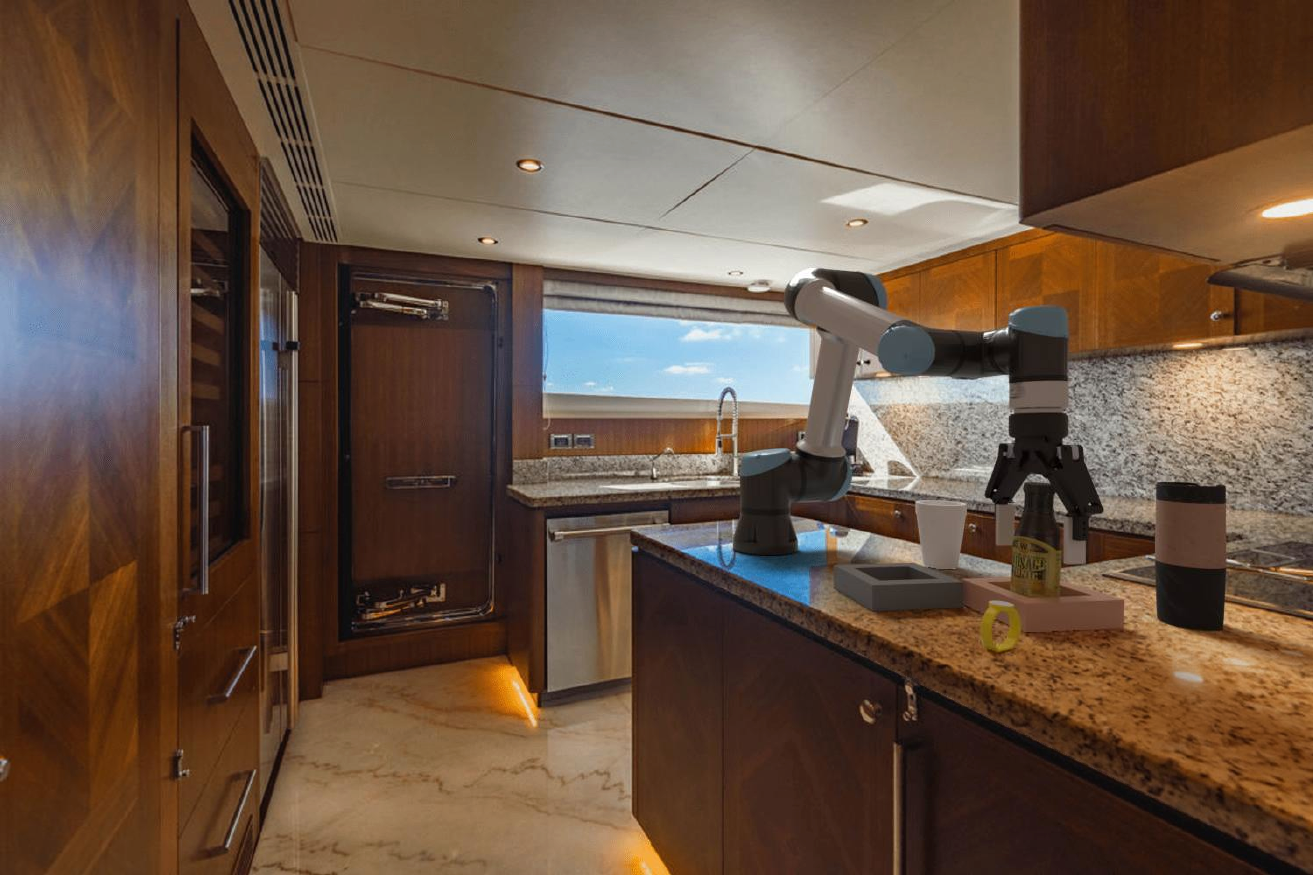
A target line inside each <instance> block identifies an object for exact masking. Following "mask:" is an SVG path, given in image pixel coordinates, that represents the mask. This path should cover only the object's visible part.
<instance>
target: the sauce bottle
mask: <svg viewBox="0 0 1313 875" xmlns="http://www.w3.org/2000/svg"><path fill="white" fill-rule="evenodd" d="M1022 490H1023V493H1024V500H1023V501H1024V503H1023V510H1022V514H1021V516H1020V519H1019V520H1018V521H1019V522H1018V525H1017V526H1016V528H1015V534H1014V536H1013V545H1012V549H1011V550H1012V551H1011V572H1010V575H1011V576H1010V577H1011V589H1010V591H1011V592H1014V593H1017V594H1019V595H1022V596H1025V597H1027V598H1044V597H1060V580H1061V576H1062V574H1061V573H1062V555H1063V554H1062V550H1063V549H1062V537H1063V534H1062V528H1061V526H1060V525H1059V523H1058V522H1057V521H1056V518H1055V515H1054V513H1055V509H1054V504H1055V503H1054V500H1055V495H1056V492H1055V490H1054V489H1053V487H1052V485H1051V484H1050V482H1040V481H1038V482H1037V481H1026V482H1025V481H1024V483H1023V488H1022Z"/></svg>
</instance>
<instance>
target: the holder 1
mask: <svg viewBox="0 0 1313 875" xmlns="http://www.w3.org/2000/svg"><path fill="white" fill-rule="evenodd" d="M833 588H834V589H836V591H838V592H840V593H842V594H843V595H845V596H846V597H849V598H850V599H851V600H853V601H855V602H856V603H858V604H860V605H861V606H863V607H865V608H867V609H868V610H869V611H871V612H887V611H890V612H891V611H892V612H893V611H909V610H912V611H913V610H916V611H917V610H934V609H935V610H937V609H939V610H940V609H959V608H960V609H961V608H964V605H963V582H962V581H961V580H959V579H956V578H954V577H951V576H949V575H946V574H943V573H942V572H938V571H936V570H935V569H932V568H928V567H925V566H924V565H922V564H918V563H916V562H893V563H892V562H891V563H889V562H887V563H859V564H857V563H856V564H852V563H851V564H833Z"/></svg>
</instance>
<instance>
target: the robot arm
mask: <svg viewBox="0 0 1313 875" xmlns="http://www.w3.org/2000/svg"><path fill="white" fill-rule="evenodd" d="M783 293H784V294H783V304H784V307H785V310H786V312H787V314H788V315H789V316H790V317H791V318H792V319H794V320H796V321H797V322H799V323H801V324H803V325H805V326H808V327H816V330H815V331H816V332H817V333H818V335H819V337H820V338H821V339H820V346H819V351H818V356H817V357H818V358H817V364H816V369H815V373H814V378H813V386H812V391H811V397H810V401H809V407H808V413H807V419H806V420H807V421H806V424H805V431H804V436H803V438H802V439H800V440H799V441H798V442H796V445H795V449H794V451H795V452H794V453H792V452H791V449H789V448H783V447H782V448H771V449H770V448H769V449H768V448H767V449H760V450H754V451H750V452H747V453H745V454H743V455H742V456H741V459H740V466H739V473H738V474H739V492H740V493H739V506H740V507H739V519H738V522H737V525H736V528H735V530H734V534H733V537H732V549H733V550H735V551H737V552H739V553H743V554H750V555H760V556H761V555H762V556H778V555H779V556H780V555H791V554H793V553H794V554H795V553H796V552H798V551H799V540H798V537H797V533H796V530H795V527H794V523H793V520H792V517H791V504H796V503H797V504H798V503H801V504H802V503H827V502H832V501H837V500H839V499H840V498H843V497H844V496H845V495H846V494H847V493H848V491H849V489H850V486H851V484H852V482H853V470H852V469H851V468H852V463H851V461H850V460H849V458H848V457H847V451H846V449H845V448H844V447H843V445H842V440H843V436H844V430H845V425H846V420H847V414H848V409H849V405H850V400H851V399H850V398H851V395H852V394H851V393H852V390H853V384H854V378H855V374H856V370H857V364H858V359H859V353H860V350H861V349H862V350H863V351H866V352H867V353H869V354H871V355H873V356H876V357H877V360H878V363H880V364H881V367H882V369H883V370H884V371H885V372H887V373H890V374H893V375H900V376H904V377H917V376H919V377H947V378H951V379H953V380H962V381H963V380H970V381H973V380H978V379H984V378H991V377H999V376H1008V384H1009V386H1008V389H1009V391H1008V393H1009V395H1008V408H1009V410H1011V411H1013V413H1010V414H1009V415H1008V436H1009V437H1010V438H1013V439H1014V442H1008V443H1007V442H1005V443H1004V442H1000V443H999V444H998V449H997V456H996V457H997V458H996V461H995V463H994V466H993V468H992V469H993V470H992V471H991V474H990V478H989V480H988V483H987V485H986V487H985V491H984V497H985V498H986V499H989V500H991V502H992V503H993V504H994V523H995V545H996V546H1013V536H1014V534H1015V531H1016V528H1015V526H1016V525H1015V524H1016V523H1015V522H1016V520H1015V517H1016V516H1015V514H1016V513H1015V510H1016V509H1015V508H1016V506H1015V504H1014V503H1015V502H1014V500H1013V498H1014V497H1015V496H1016V495H1017V493H1018V491H1019V490H1020V488H1021V487H1022V485H1024V483H1025V481H1026V480H1027V478H1028V477H1029V476H1030V475H1032V474H1034V475H1042V477H1043V478H1044V479H1047V480H1048V483H1050V484H1051V485H1052V487H1053V489H1054V490H1055V492H1056V493H1055V495H1057V497H1058V498H1059V500H1060V501H1061V503H1062V505H1063V506H1064V508H1065V510H1066V514H1065V515H1064V516H1063V564H1065V565H1086V564H1087V563H1086V559H1087V558H1086V557H1087V556H1086V555H1087V554H1086V553H1087V548H1086V546H1087V545H1086V544H1087V543H1086V542H1088V541H1089V538H1090V534H1089V533H1090V531H1089V530H1090V518H1091V516H1094V515H1102V514H1103V513H1104V509H1105V508H1104V506H1103V503H1102V501H1101V499H1100V496H1099V494H1098V491H1097V489H1096V486H1095V484H1094V481H1093V479H1092V476H1091V474H1090V472H1089V468H1088V467H1087V464H1086V462H1085V454H1084V446H1083V445H1081V444H1064V443H1063V439H1065V438H1067V437H1068V436H1069V414H1067V413H1066V412H1064V410H1067V409H1068V408H1069V407H1070V406H1069V404H1070V402H1069V400H1070V399H1069V397H1070V396H1069V392H1070V391H1069V389H1070V388H1069V375H1068V370H1069V369H1068V366H1069V350H1070V349H1069V348H1070V338H1071V335H1070V331H1069V316H1068V315H1069V314H1068V312H1067V310H1066V309H1065V308H1064V307H1062V306H1059V305H1049V304H1048V305H1035V306H1028V307H1027V306H1026V307H1022V308H1017V309H1016V310H1013V311H1012V312H1011V313H1010V314H1009V317H1008V323H1007V326H1005V327H1001V328H996V329H991V330H989V329H988V330H985V331H984V330H983V331H981V330H980V331H974V330H961V329H960V330H959V329H944V328H936V327H935V328H932V327H928V326H925V325H922V324H920V323H917V322H915V321H912V320H910V319H908V318H905V317H903V316H900V315H898V314H895V313H893V312H891V311H889V310H887V308H888V293H887V289H886V287H885V286H884V284H883V281H882V280H881V279H880V278H879V277H878V276H876V275H874V274H872V273H866V272H862V271H859V270H858V271H857V270H855V271H853V270H852V271H851V270H844V269H843V270H841V269H832V268H831V269H830V268H822V267H812V268H807V269H805V270H804V269H803V270H802V271H800V272H798V273H797V274H795V275H794V276H793V277H792V278H791V279H790V280H789V282H788V283H787V284H786V287H785V289H784V292H783Z"/></svg>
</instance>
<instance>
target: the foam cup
mask: <svg viewBox="0 0 1313 875" xmlns="http://www.w3.org/2000/svg"><path fill="white" fill-rule="evenodd" d="M967 510H968V505H967V503H966V502H962V501H961V502H960V501H951V500H940V499H939V500H935V499H931V500H929V499H928V500H927V499H926V500H924V499H923V500H916V501H915V514H916V518H917V520H916V521H917V526H918V533H919V534H918V535H919V541H920V542H919V543H920V548H921V556H922V562H923V566H924V565H925V566H928V567H931V568H930V569H932V568H936V569H935V570H939V569H953V568H957V567H958V568H959V564H960V563H959V562H960V556H961V549H962V543H963V542H962V541H963V535H964V529H965V524H966V523H965V522H966V517H967V516H968V513H967V512H968V511H967ZM925 566H924V567H925ZM928 567H927V568H928ZM958 568H957V569H958Z"/></svg>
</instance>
